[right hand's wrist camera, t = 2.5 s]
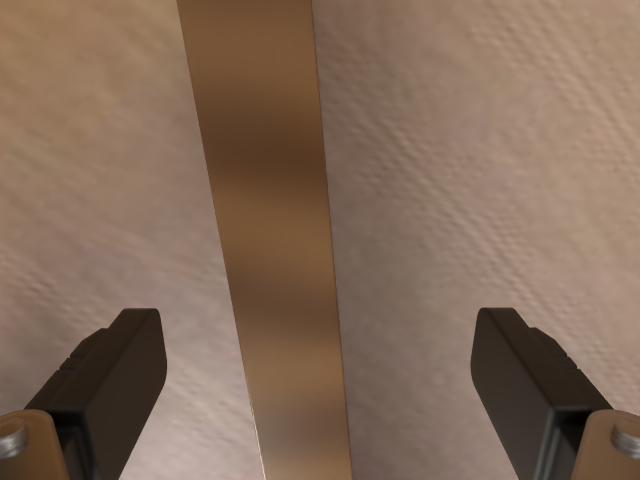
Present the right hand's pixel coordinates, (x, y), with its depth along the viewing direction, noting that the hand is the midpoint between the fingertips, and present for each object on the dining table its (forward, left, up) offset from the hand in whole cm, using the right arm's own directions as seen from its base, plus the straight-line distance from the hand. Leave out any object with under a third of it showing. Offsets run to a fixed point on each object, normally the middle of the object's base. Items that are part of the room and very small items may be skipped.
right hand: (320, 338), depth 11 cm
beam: (+6, -26, -16) cm, 31 cm away
